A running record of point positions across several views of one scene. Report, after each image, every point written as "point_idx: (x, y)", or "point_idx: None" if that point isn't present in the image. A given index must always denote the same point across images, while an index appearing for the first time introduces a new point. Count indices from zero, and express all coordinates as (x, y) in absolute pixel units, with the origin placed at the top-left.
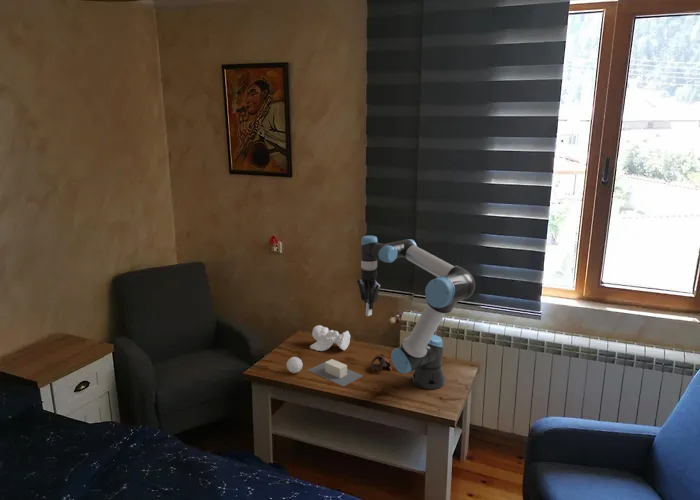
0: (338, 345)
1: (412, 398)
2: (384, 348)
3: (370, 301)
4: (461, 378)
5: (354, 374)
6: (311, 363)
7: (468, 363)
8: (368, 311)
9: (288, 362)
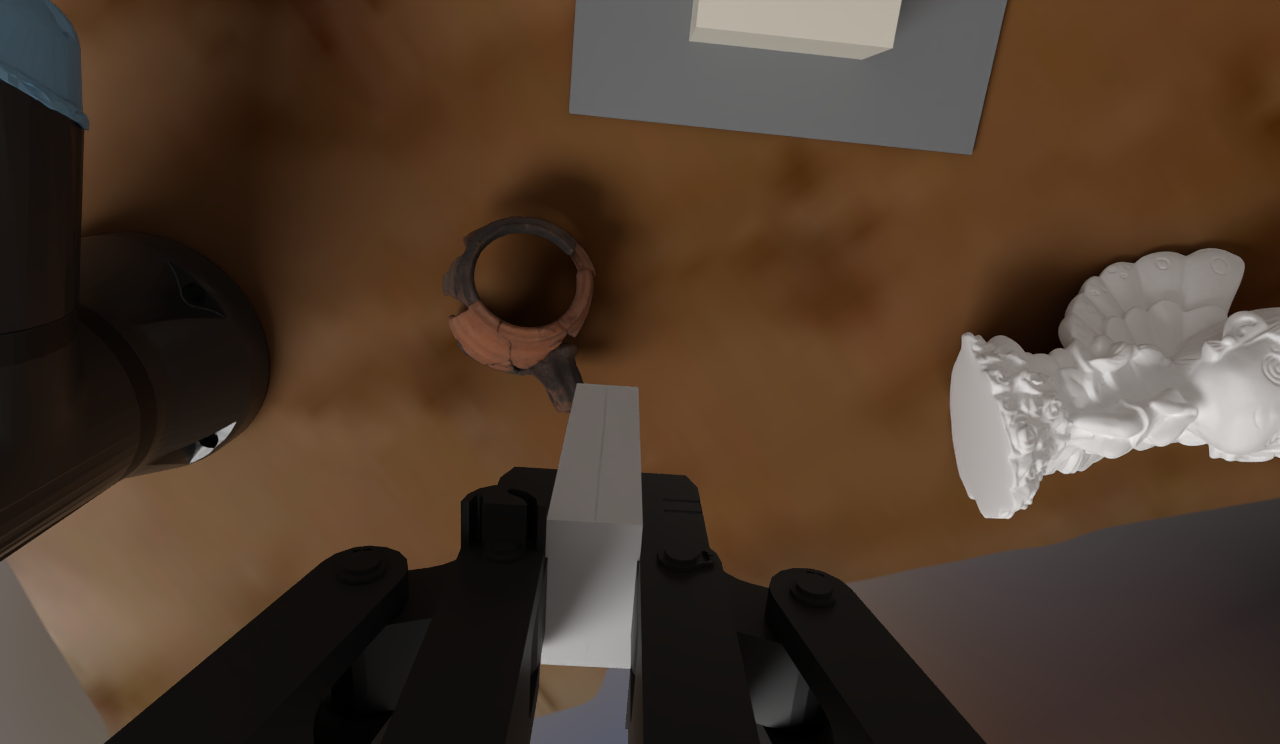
0: (995, 337)
1: None
2: None
3: (454, 572)
4: None
5: (640, 84)
6: (1074, 30)
7: (138, 706)
8: (569, 425)
9: None
